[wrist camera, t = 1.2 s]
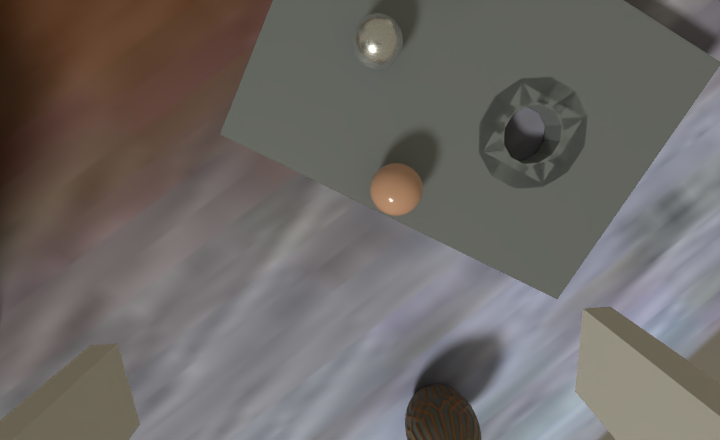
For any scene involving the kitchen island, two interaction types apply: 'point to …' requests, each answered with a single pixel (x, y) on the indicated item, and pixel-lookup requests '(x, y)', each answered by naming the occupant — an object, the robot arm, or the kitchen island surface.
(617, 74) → the plate
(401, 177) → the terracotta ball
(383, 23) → the steel ball
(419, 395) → the vase
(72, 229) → the kitchen island surface
